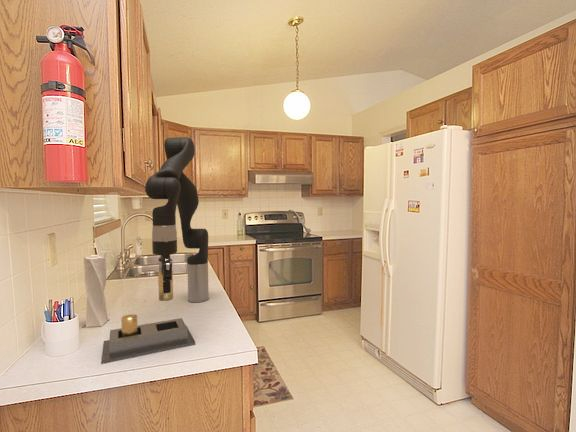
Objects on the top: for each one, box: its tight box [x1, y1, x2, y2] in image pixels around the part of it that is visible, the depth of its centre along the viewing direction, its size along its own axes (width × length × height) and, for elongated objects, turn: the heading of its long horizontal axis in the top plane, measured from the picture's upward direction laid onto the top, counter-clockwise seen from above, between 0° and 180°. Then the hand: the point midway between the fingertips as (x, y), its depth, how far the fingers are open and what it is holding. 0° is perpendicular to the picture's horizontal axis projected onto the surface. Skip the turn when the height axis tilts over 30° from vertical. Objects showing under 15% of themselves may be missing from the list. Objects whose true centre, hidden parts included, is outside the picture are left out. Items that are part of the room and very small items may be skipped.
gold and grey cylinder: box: [157, 270, 174, 302], centre depth 105 cm, size 4×4×9 cm
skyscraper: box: [81, 250, 110, 329], centre depth 120 cm, size 8×8×28 cm
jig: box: [101, 313, 196, 365], centre depth 103 cm, size 15×26×10 cm, turn 117°
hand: (166, 290), depth 105 cm, fingers closed on gold and grey cylinder, 4 cm apart
